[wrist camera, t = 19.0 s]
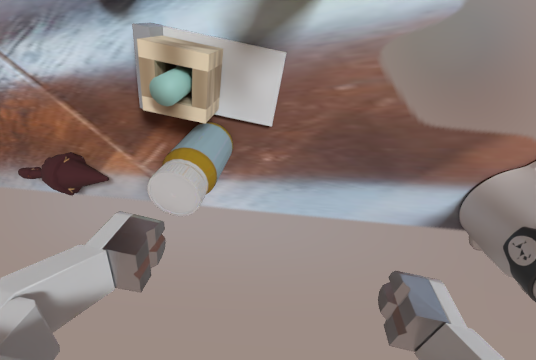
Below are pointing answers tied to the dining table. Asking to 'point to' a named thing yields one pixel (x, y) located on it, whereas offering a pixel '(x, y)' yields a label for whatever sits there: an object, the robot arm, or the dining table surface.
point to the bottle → (191, 170)
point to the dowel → (171, 85)
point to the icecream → (65, 173)
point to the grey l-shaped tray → (232, 73)
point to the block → (188, 55)
